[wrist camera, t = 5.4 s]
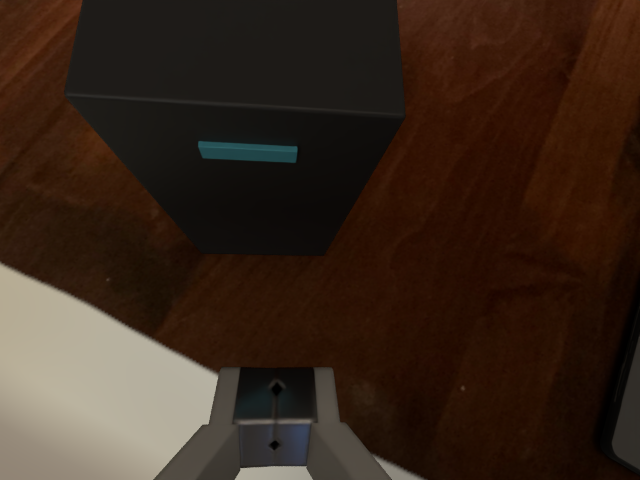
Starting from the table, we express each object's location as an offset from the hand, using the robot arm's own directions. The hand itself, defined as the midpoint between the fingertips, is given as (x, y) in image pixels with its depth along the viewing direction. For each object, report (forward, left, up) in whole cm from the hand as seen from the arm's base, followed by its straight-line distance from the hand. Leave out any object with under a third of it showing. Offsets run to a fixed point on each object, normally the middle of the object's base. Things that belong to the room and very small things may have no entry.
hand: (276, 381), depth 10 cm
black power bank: (+8, -1, -10) cm, 13 cm away
